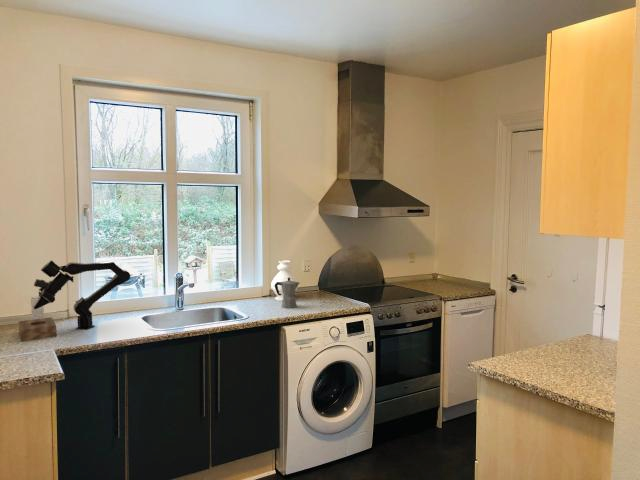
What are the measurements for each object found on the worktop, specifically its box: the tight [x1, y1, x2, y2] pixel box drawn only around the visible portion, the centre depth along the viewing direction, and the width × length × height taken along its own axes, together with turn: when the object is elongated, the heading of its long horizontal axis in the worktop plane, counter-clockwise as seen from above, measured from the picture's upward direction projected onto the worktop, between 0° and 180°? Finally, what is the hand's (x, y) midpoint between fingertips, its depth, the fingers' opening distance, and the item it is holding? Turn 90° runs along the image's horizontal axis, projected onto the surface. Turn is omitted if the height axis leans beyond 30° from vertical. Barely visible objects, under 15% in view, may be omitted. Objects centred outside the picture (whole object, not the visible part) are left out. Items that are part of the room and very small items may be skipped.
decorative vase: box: [270, 259, 299, 301], centre depth 330 cm, size 18×18×25 cm
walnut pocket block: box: [17, 316, 57, 342], centre depth 247 cm, size 15×20×6 cm
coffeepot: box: [275, 278, 300, 309], centre depth 305 cm, size 15×9×18 cm, turn 103°
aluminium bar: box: [30, 295, 45, 320], centre depth 247 cm, size 5×5×10 cm
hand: (34, 307), depth 246 cm, fingers closed on aluminium bar, 5 cm apart
